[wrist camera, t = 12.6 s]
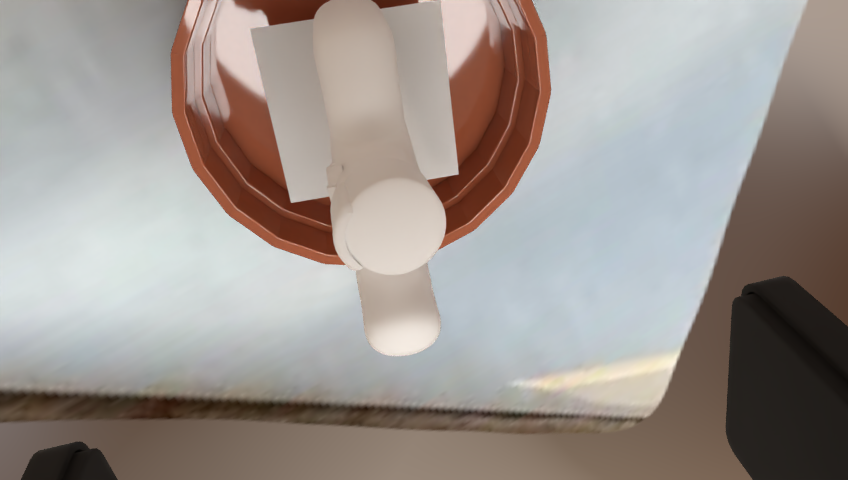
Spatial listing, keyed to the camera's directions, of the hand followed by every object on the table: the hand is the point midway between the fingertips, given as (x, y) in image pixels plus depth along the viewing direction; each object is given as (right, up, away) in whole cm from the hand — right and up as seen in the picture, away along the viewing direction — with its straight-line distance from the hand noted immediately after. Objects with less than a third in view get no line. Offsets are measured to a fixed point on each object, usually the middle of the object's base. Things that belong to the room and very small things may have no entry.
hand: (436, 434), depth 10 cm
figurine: (-3, +10, +21) cm, 23 cm away
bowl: (-3, +10, +21) cm, 24 cm away
